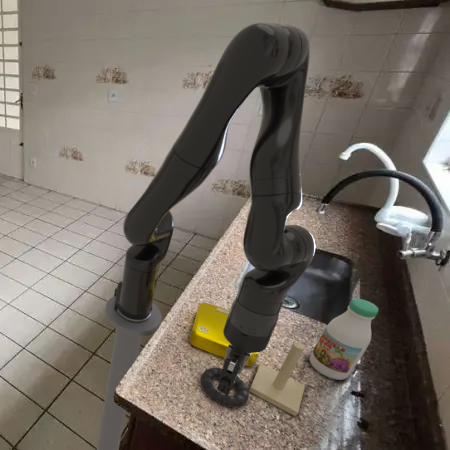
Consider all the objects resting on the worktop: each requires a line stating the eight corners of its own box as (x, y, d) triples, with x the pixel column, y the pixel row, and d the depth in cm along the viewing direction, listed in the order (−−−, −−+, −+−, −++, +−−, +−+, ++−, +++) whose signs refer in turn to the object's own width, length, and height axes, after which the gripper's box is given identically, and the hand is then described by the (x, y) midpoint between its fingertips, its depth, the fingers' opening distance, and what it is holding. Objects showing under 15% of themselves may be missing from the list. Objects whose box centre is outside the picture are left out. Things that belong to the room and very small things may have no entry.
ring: (194, 390, 80) (196, 384, 79) (208, 365, 86) (210, 359, 85) (240, 417, 74) (243, 411, 73) (251, 388, 81) (254, 382, 80)
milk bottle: (320, 351, 90) (355, 289, 81) (355, 374, 84) (397, 311, 74) (301, 360, 88) (334, 298, 78) (335, 385, 81) (376, 321, 72)
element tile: (255, 331, 96) (261, 318, 94) (253, 370, 85) (259, 356, 83) (197, 311, 103) (200, 298, 101) (187, 344, 92) (191, 331, 90)
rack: (248, 391, 80) (269, 346, 73) (258, 367, 86) (278, 323, 79) (295, 416, 75) (323, 370, 68) (302, 389, 80) (328, 344, 73)
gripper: (239, 294, 74) (220, 350, 81) (218, 331, 64) (198, 390, 72) (281, 311, 69) (256, 367, 77) (264, 353, 60) (239, 413, 67)
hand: (228, 378), depth 74 cm, fingers open, 8 cm apart
